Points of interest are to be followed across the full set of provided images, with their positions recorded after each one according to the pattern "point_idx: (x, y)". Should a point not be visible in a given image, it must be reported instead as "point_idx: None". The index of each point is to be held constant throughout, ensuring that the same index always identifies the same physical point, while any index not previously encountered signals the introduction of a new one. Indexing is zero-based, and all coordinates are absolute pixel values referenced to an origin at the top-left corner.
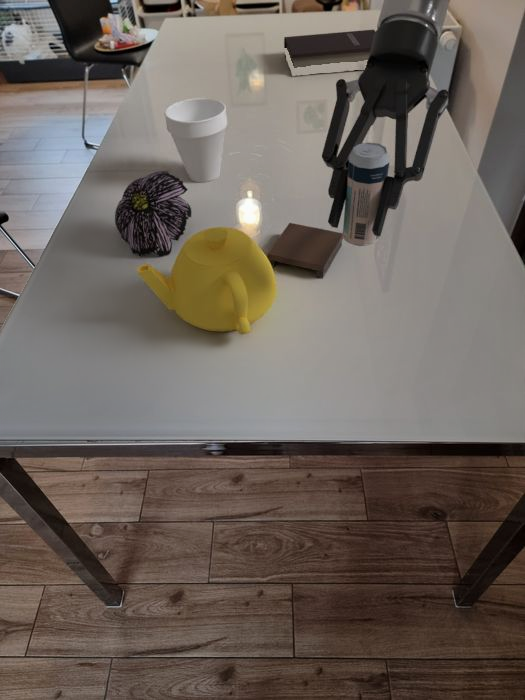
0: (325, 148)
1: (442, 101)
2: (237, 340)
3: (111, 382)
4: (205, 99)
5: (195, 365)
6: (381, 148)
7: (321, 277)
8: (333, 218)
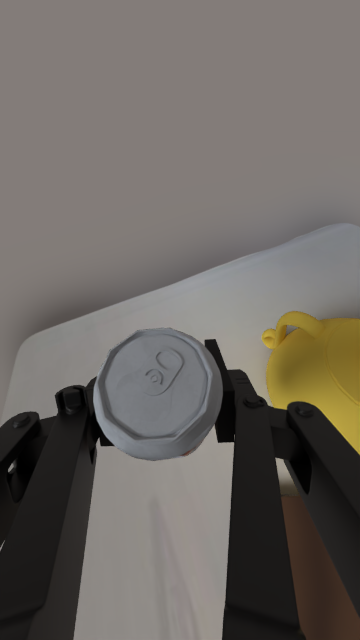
0: (326, 425)
1: None
2: None
3: (328, 269)
4: None
5: (284, 306)
6: (120, 413)
7: None
8: (207, 342)
